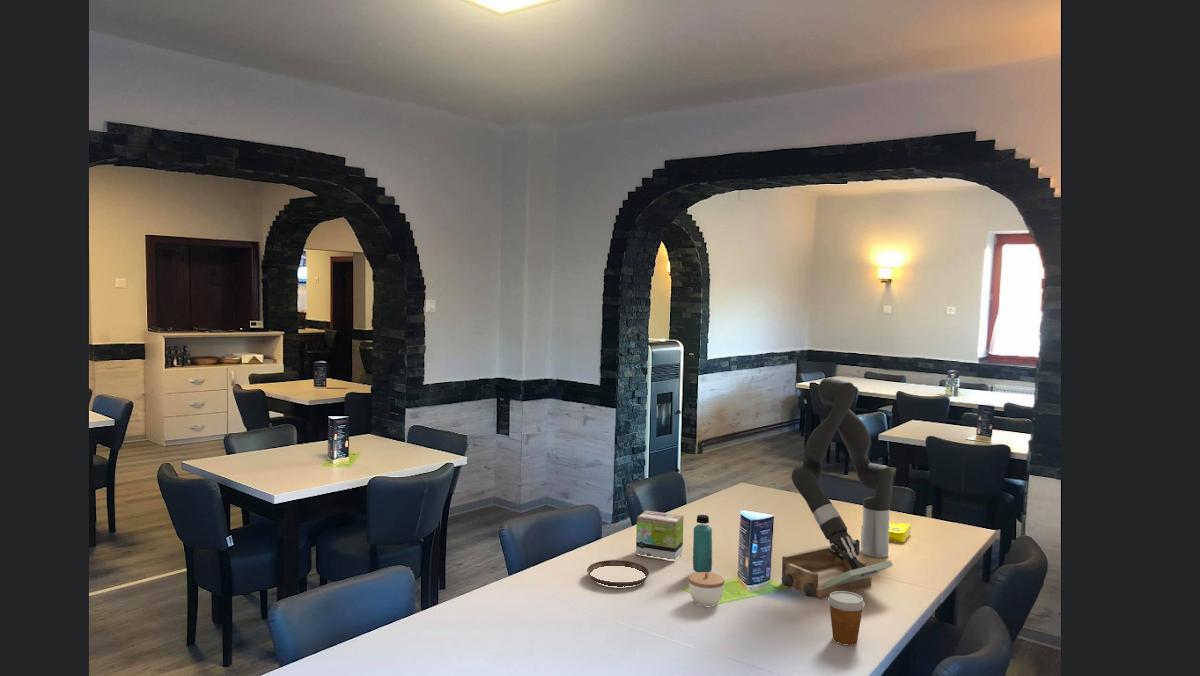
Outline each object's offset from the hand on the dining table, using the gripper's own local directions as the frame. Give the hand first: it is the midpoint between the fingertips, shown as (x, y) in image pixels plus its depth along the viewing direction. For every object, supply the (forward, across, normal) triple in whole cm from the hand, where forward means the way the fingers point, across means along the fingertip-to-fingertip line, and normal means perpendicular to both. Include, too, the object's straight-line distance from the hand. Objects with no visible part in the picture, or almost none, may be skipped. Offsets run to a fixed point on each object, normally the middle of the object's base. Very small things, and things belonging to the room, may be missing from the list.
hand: (858, 570), depth 237 cm
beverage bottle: (-22, -30, +35) cm, 51 cm away
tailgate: (+1, 0, +7) cm, 7 cm away
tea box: (-37, -31, +51) cm, 71 cm away
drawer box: (-3, 0, +15) cm, 15 cm away
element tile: (-21, +64, +35) cm, 75 cm away
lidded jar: (-7, -44, +20) cm, 49 cm away
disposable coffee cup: (+20, -28, -8) cm, 35 cm away
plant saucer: (-28, -57, +42) cm, 76 cm away
